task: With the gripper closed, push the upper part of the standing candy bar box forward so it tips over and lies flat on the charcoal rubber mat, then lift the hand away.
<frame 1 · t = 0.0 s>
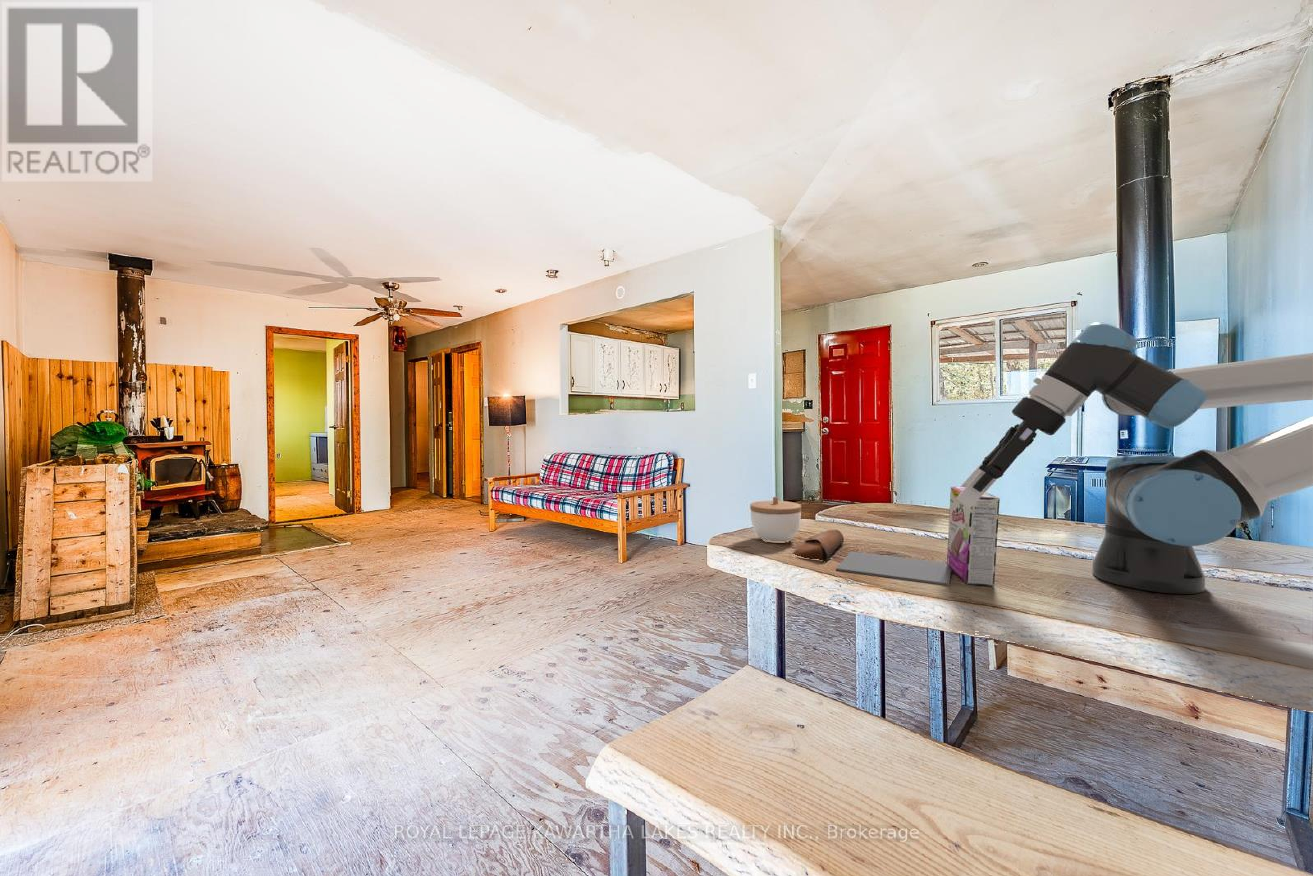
hand: (963, 498, 99), 15 cm above the table, tool tilted 35°, fingers open, 13 cm apart
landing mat: (894, 567, 107), on the table
sunglasses case: (818, 553, 121), on the table
lidded bowl: (775, 541, 132), on the table
candy bar box: (968, 576, 100), on the table, touching gripper
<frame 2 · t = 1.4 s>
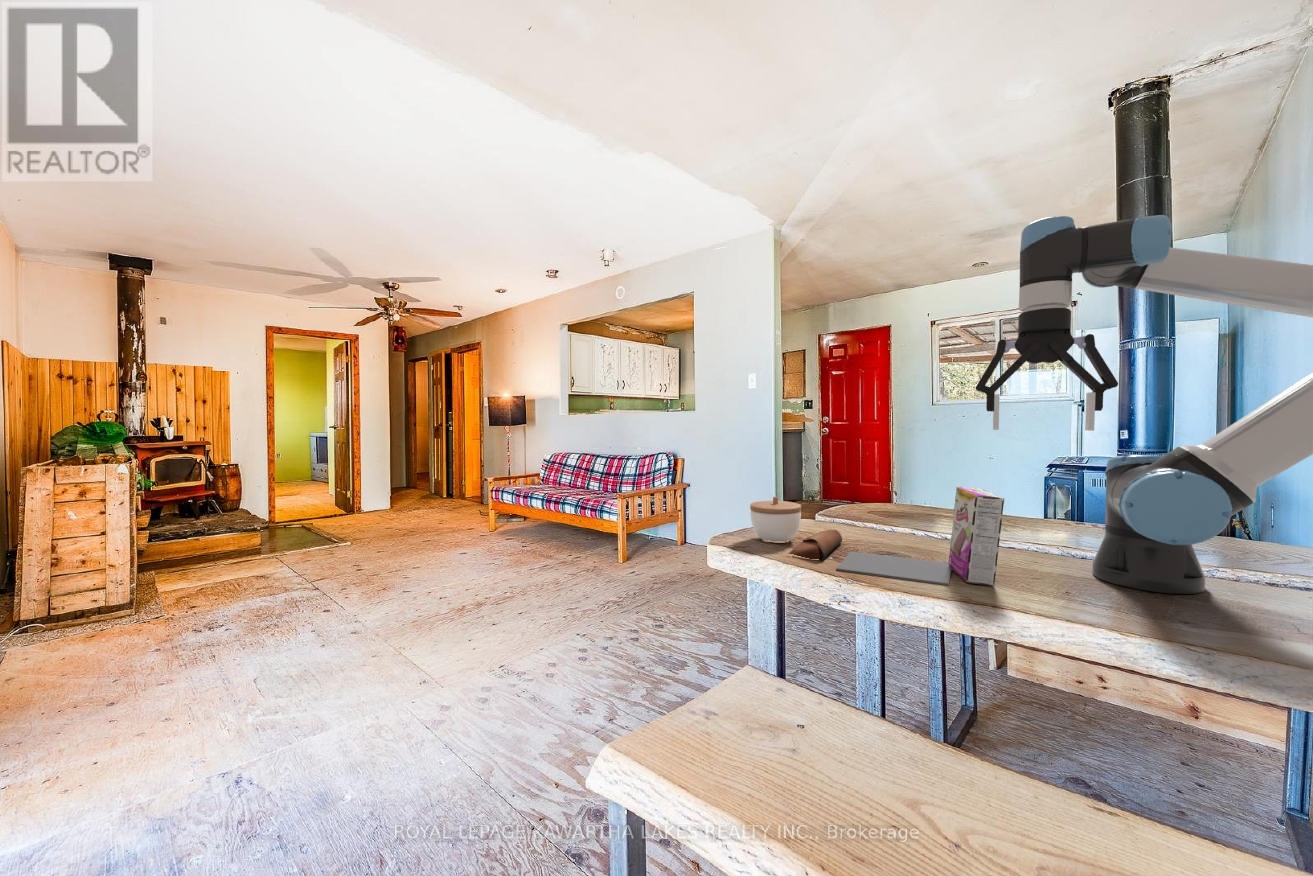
hand: (1040, 430, 93), 28 cm above the table, tool pointing down, fingers open, 13 cm apart
candy bar box: (969, 576, 100), on the table, touching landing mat
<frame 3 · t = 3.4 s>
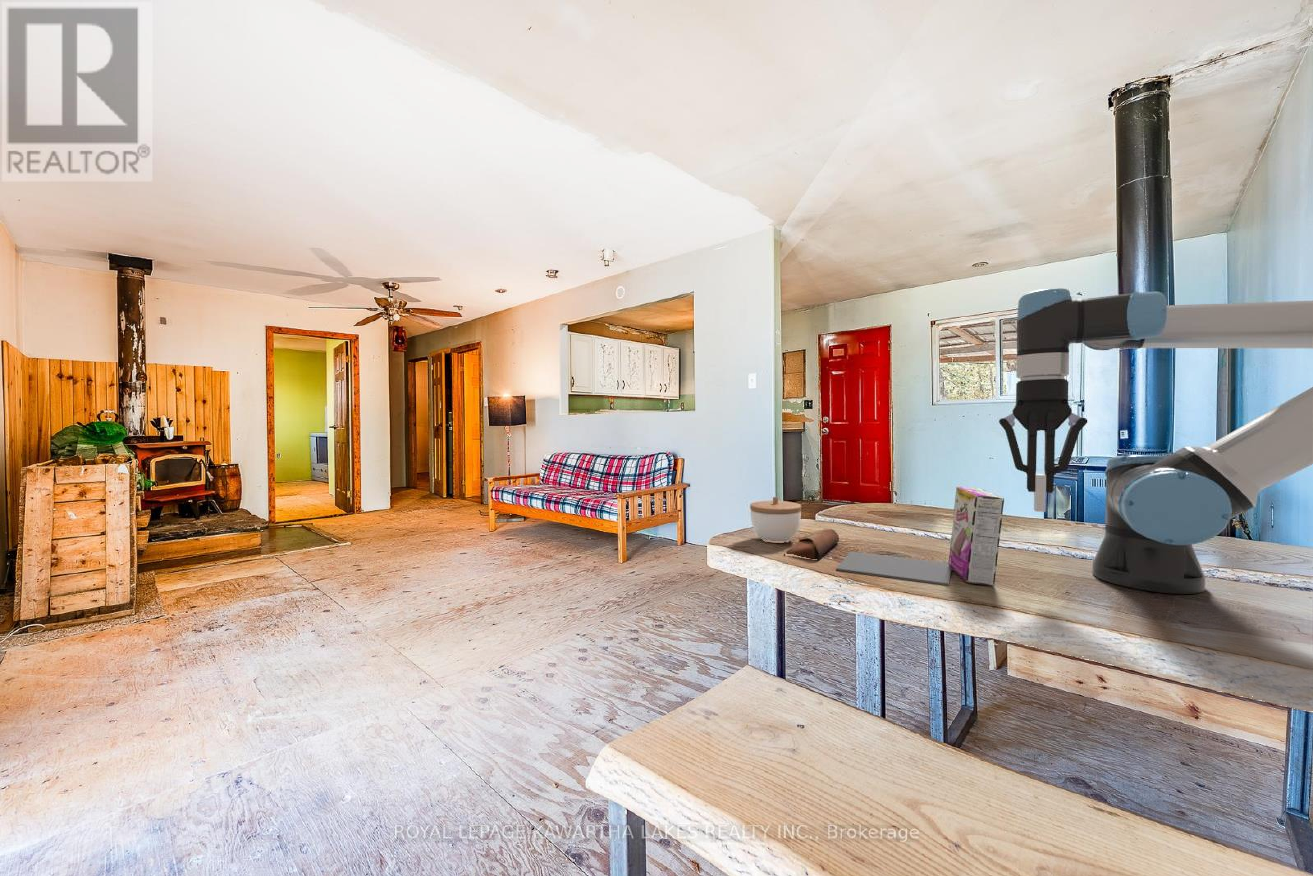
hand: (1039, 510, 94), 14 cm above the table, tool pointing down, fingers closed
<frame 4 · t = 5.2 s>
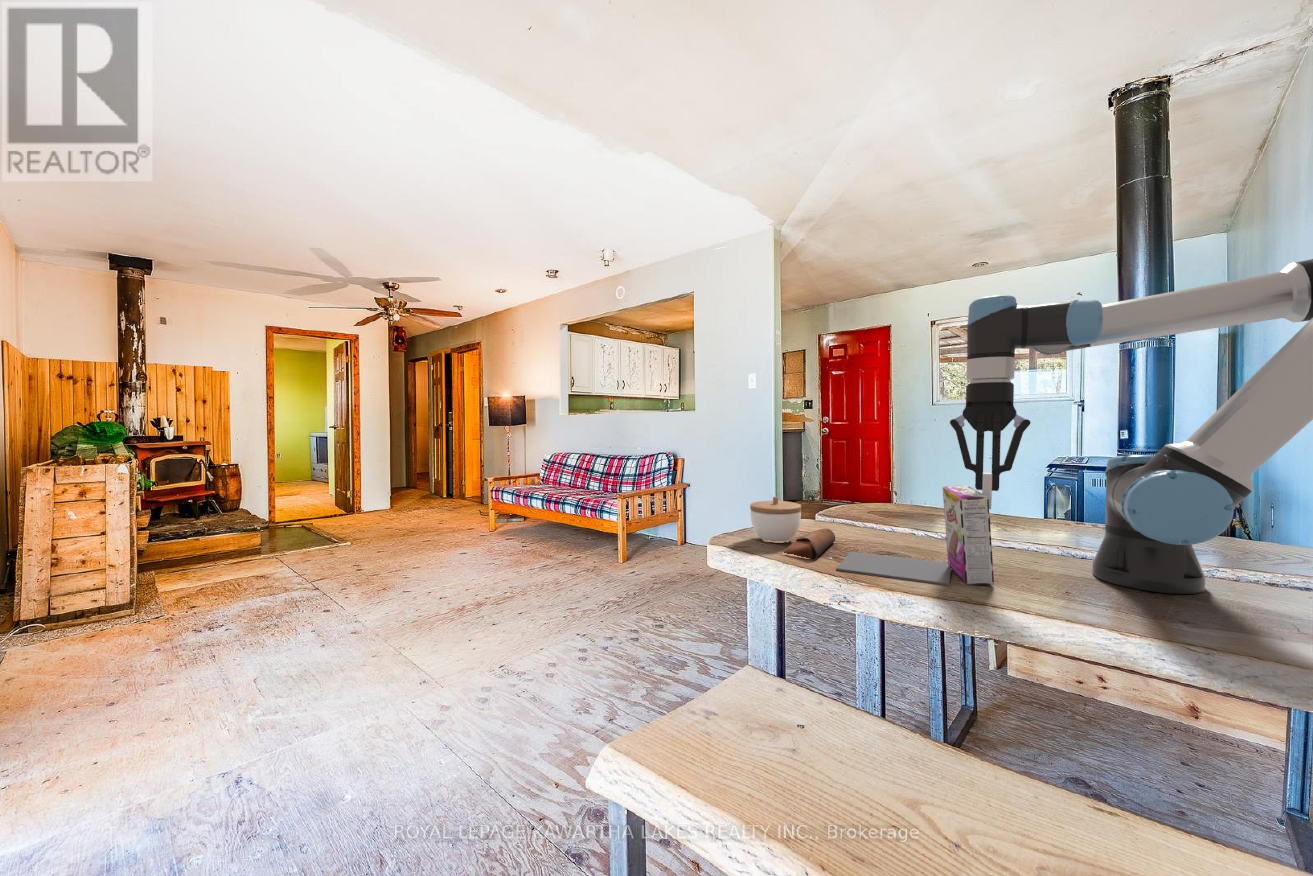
hand: (986, 507, 98), 14 cm above the table, tool pointing down, fingers closed
candy bar box: (969, 575, 100), on the table, touching gripper, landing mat
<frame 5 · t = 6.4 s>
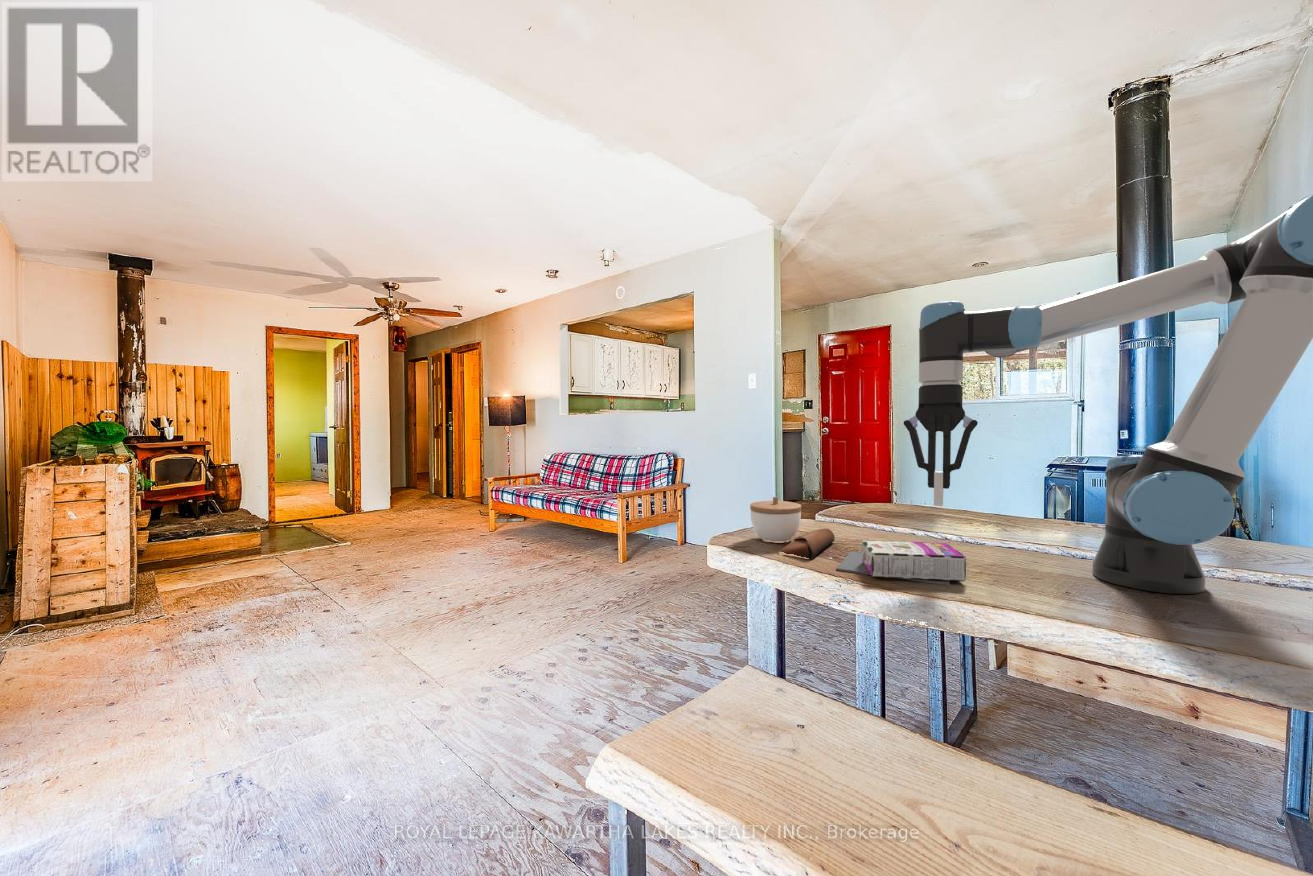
hand: (938, 504, 102), 14 cm above the table, tool pointing down, fingers closed
candy bar box: (957, 562, 101), point 3 cm above the table, touching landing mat
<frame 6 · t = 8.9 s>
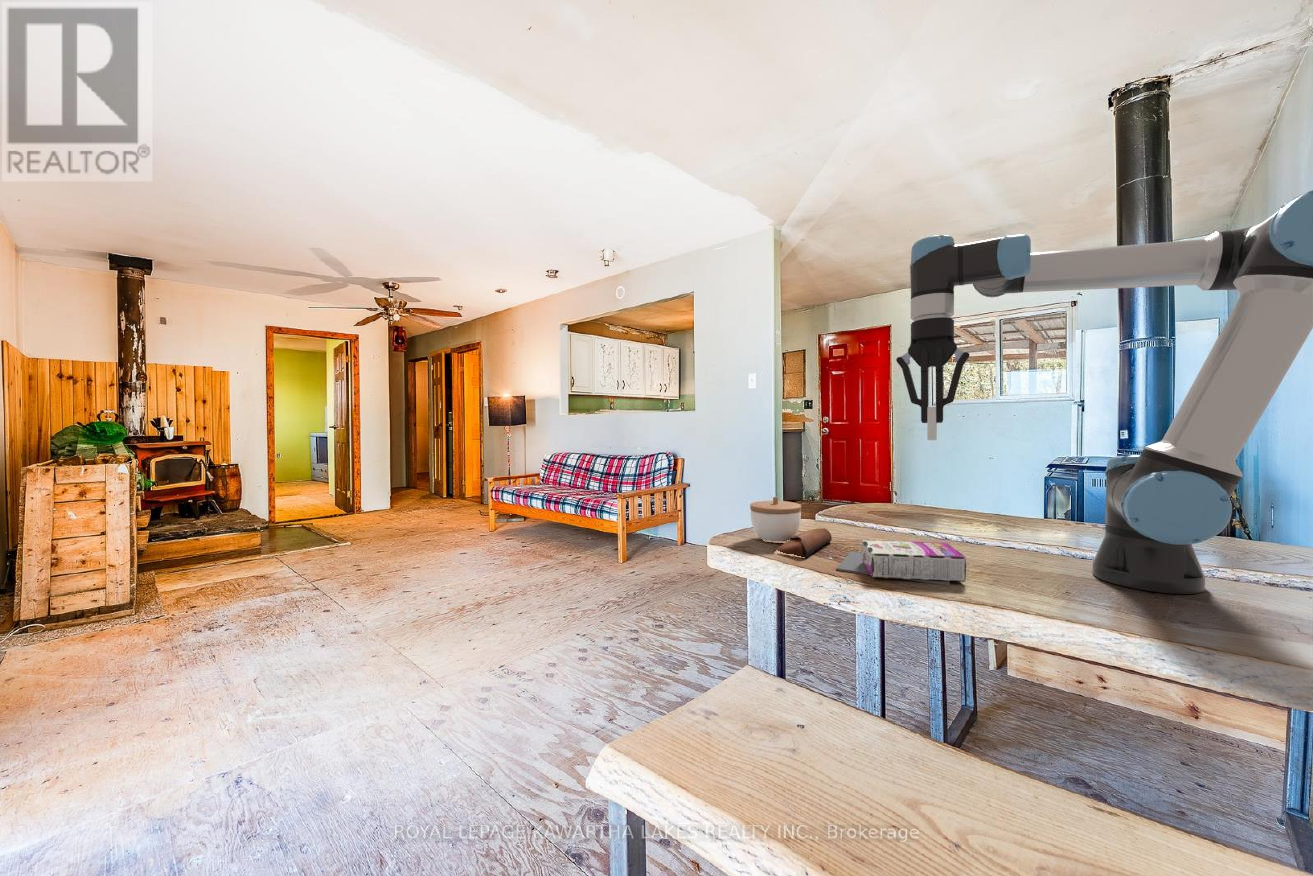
hand: (932, 439, 103), 26 cm above the table, tool pointing down, fingers closed
sunglasses case: (803, 551, 124), on the table
everything else where it was.
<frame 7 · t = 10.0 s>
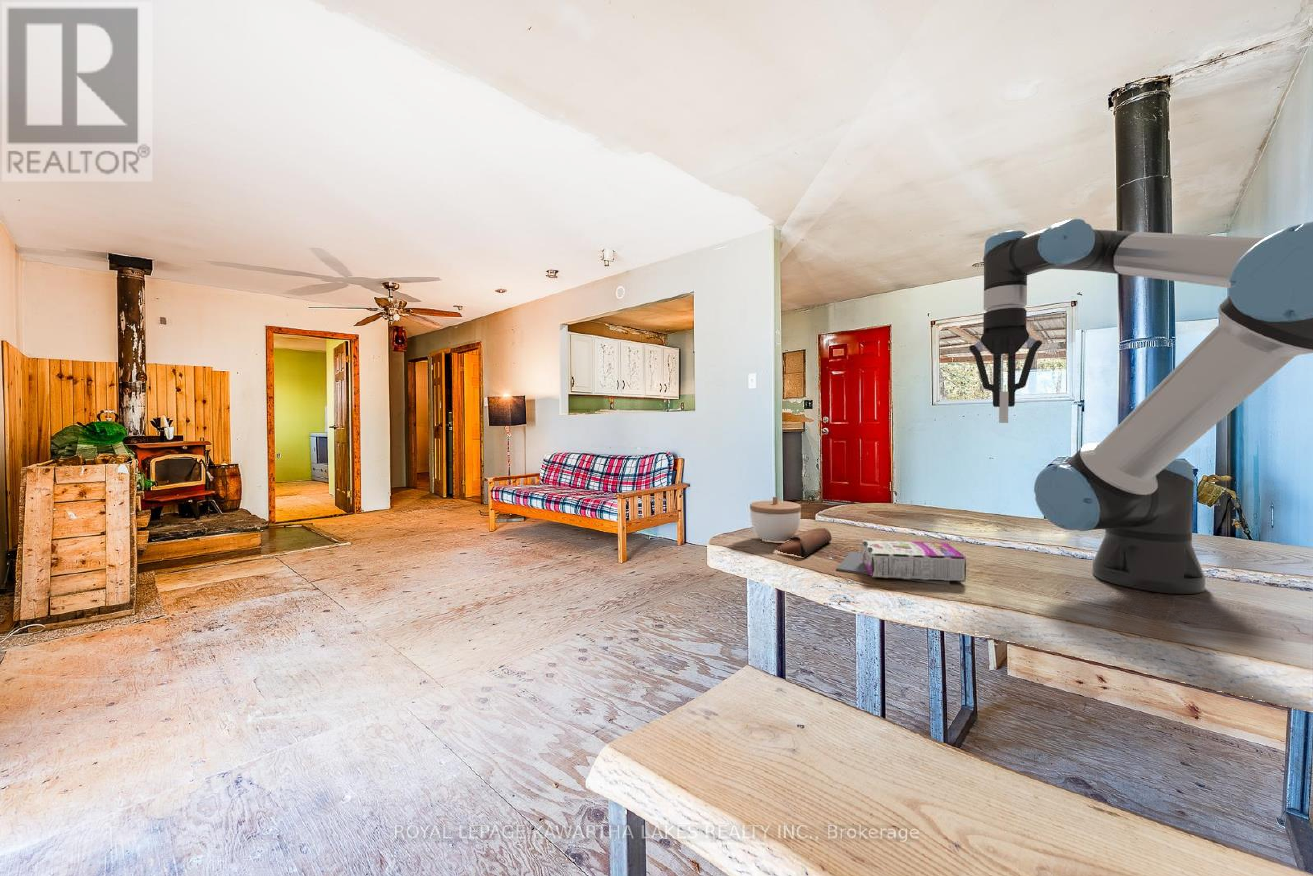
hand: (1003, 422, 110), 29 cm above the table, tool pointing down, fingers closed
sunglasses case: (802, 550, 124), on the table, touching lidded bowl
lidded bowl: (775, 541, 132), on the table, touching sunglasses case
everything else where it was.
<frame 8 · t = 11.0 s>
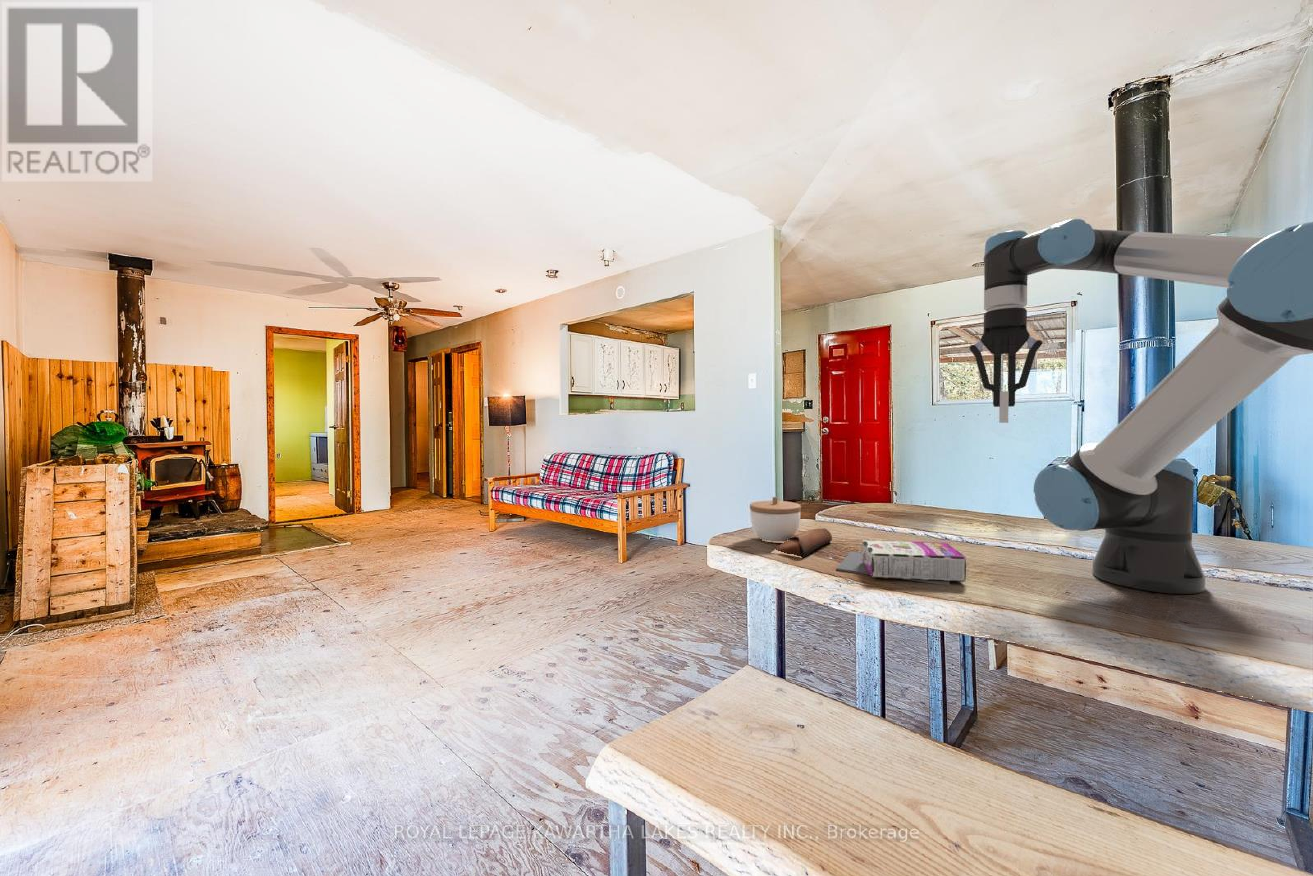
hand: (1003, 422, 110), 29 cm above the table, tool pointing down, fingers closed
sunglasses case: (802, 550, 124), on the table
lidded bowl: (775, 541, 132), on the table
everything else where it was.
at the end: candy bar box tilted 89°; candy bar box inside the target area (3.7 cm from its centre), point 2.8 cm above the table; candy bar box touching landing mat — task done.
